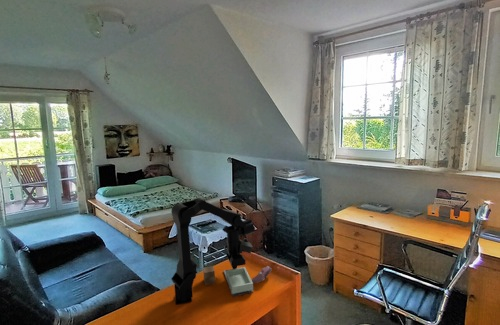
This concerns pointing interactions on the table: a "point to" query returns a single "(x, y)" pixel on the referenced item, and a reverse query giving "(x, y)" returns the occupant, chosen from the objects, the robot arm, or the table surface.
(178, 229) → the robot arm
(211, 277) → the walnut block
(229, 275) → the pale green tray
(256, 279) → the sweet potato
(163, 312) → the table surface
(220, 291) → the table surface
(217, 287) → the table surface
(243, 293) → the track
